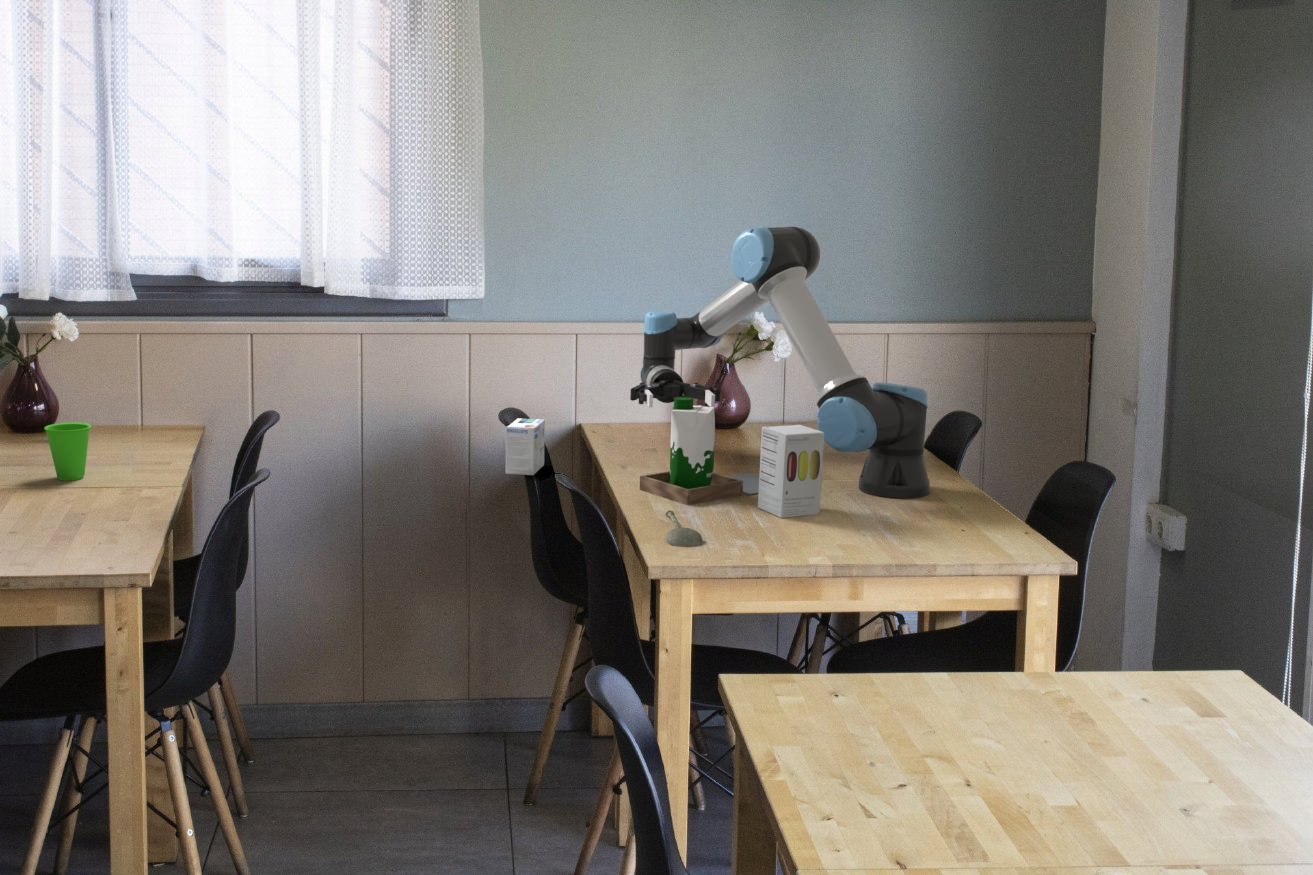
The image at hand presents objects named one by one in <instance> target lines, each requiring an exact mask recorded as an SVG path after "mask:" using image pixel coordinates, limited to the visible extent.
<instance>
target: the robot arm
mask: <svg viewBox="0 0 1313 875" xmlns="http://www.w3.org/2000/svg"><path fill="white" fill-rule="evenodd" d="M820 260H821V248H820V244H819V243H818V240H817V239H816V238H815V236H814V235H813V234H812V233H811V232H810V231H808V230H807V229H805V228H803V227H798V226H780V227H778V226H776V227H766V226H758V227H753V228H752V227H751V228H747V229H745V230H743V231H742V232H741V233H740V234H739V235H738V237H737V238H736V239H735V240H734V243H733V245H732V253H731V254H730V264H731V265H730V266H731V268H732V272H733V273H734V275H735V277H736V278H737V279H738V280H739V281H738V282H737V283H736V284H734V285H733V286H731V287H730V288H729V289H728V290H727V291H725V292H723V293H722V295H720V296H718V297H717V298H716V299H715V300H713V301H712V302H710V303H709V304H708V305H707V306H705V307H703V309H701V310H700V311H699V312H697V313H696V314H694V315H693V316H690V317H682V318H681V317H680V318H679V317H678V318H677V314H676V313H675V312H674V311H669V310H651V311H648V312H647V313H646V314H645V317H644V318H645V319H644V325H643V326H644V327H643V358H642V366H641V368H640V371H639V375H640V376H639V377H640V381H641V382H640V383H639V384H637V385H636V386H634V387H631V388H630V396H629V398H630V399H629V400H630V401H632V402H634V401H636V400H638V405H644V403H645V404H646V405H647V407H649V408H653V407H654V406H653V403H654V399H656V400H657V401H659V402H661V403H664V404H671V403H674V398H675V397H691V398H693V400H694V399H695V400H701V401H704V403H705V404H707V405H708V407H714V408H715V403H716V402H720V401H721V389H720V388H715V387H714V386H707V385H704V384H700V383H699V382H694V383H693V384H692V385H691V384H690V383H688V382H684V381H683V378H682V377H681V376H680V374H679V373H677V372H676V370H675V365H676V364H675V362H676V361H675V359H676V351H679V350H680V351H681V350H690V349H706V348H709V347H713V346H716V345H718V344H719V343H720V342H721V340H722V338H723V334H724V333H726V331H728V330H730V328H733V326H735V325H736V324H738V323H739V322H741V321H742V320H743V319H745V318H746V317H747V316H749V315H750V314H752V313H753V312H754V311H756V310H757V309H759V308H760V307H761V306H763V305H764V304H766V303H767V302H768V301H769V303H770V305H771V308H773V310H774V312H775V314H776V316H777V318H778V320H779V322H780V324H781V325H782V327H783V329H784V331H785V333H786V335H787V337H788V338H789V340H790V342H791V344H792V346H793V348H794V350H795V351H796V353H797V355H798V356H799V359H800V360H801V362H802V365H803V366H804V368H805V370H806V371H807V373H808V375H809V377H810V379H811V381H812V383H813V385H814V386H815V389H816V390H817V392H818V397H817V400H816V406H817V407H818V411H817V416H816V417H817V418H818V420H817V422H816V425H817V426H816V427H817V430H819V431H822V432H824V443H826V444H827V446H829V447H830V448H832V449H833V450H835V451H837V452H840V453H861V452H865V451H867V450H868V455H867V456H866V459H865V461H864V465H863V467H862V470H861V474H860V475H859V478H858V486H857V487H858V489H859V490H860V491H861V492H864V493H866V494H869V495H874V496H878V497H885V498H899V499H900V498H901V499H903V498H905V499H907V498H908V499H909V498H910V499H911V498H912V499H913V498H920V497H921V498H922V497H925V496H926V495H928V494H929V493H930V487H931V482H930V479H929V477H928V471H927V466H926V462H925V457H924V453H925V452H924V451H925V450H924V449H925V439H926V438H925V437H926V424H927V413H928V412H927V411H928V408H929V405H928V395H927V394H928V393H927V391H926V390H925V389H924V388H922V387H919V386H918V387H917V386H913V385H906V384H901V383H900V384H899V383H890V382H880V381H879V382H874V383H873V384H872V385H871V383H870V382H869V381H868V378H867V376H864V375H860V374H856V372H855V370H854V368H853V366H852V365H851V363H850V360H849V359H848V357H847V355H846V353H845V352H844V350H843V348H842V346H841V345H840V342H839V341H838V340H837V338H836V336H835V333H834V332H833V330H832V329H831V326H830V325H829V323H828V321H827V319H826V317H825V316H824V314H823V312H822V311H821V308H820V307H819V304H818V303H817V301H816V300H815V297H814V296H813V294H812V293H811V290H810V289H809V287H808V285H807V283H806V282H805V281H806V280H807V279H808V278H810V277H811V276H812V275H813V274H814V272H815V271H816V270H817V268H818V266H819V263H820Z"/></svg>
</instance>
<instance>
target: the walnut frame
mask: <svg viewBox="0 0 1313 875" xmlns="http://www.w3.org/2000/svg"><path fill="white" fill-rule="evenodd" d="M728 476H729V475H724V474H721V473H717V472H714V471H713V475H712V480H711V485H710V486H704V487H698V488H692V489H686V488H682V487H679V486H676V485H672V484H671V482H670V470H669V471H664V472H663V471H662V472H657V473H649V474H644V475H639V490H640V491H643V492H646V493H648V492H649V494H652V495H655V494H656V495H655V496H658V497H661V496H662V498H665V499H667V498H669V499H668V500H671V501H674V500H675V501H674V502H677V503H680V502H681V504H683V505H692V504H698V503H699V504H700V503H704V502H710V500H711V501H715V500H720V499H721V498H722V499H726V498H732V497H737V496H743V495H744V494H743V481H742V480H739V479H735V478H731V477H728Z"/></svg>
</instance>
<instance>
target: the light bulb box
mask: <svg viewBox="0 0 1313 875" xmlns="http://www.w3.org/2000/svg"><path fill="white" fill-rule="evenodd" d="M545 421H546V420H545V419H544V418H543V419H541V418H519V417H518V418H516V419H514V421H512V422H511V423H510V424H508V425H507V426H506V427H505V474H507V475H508V474H509V475H520V476H523V475H524V476H534V475H535V474H536V473H537V472H538V471H540V469H542V467H544V466H545V427H546V426H545V425H546V424H545V423H546V422H545Z"/></svg>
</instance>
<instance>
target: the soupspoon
mask: <svg viewBox="0 0 1313 875" xmlns="http://www.w3.org/2000/svg"><path fill="white" fill-rule="evenodd" d="M675 515H676V514H675V512H674V511H673V510H667V511H666V512H665V517H666V518H669V517H670V519H671V521H672V522H673V524H674V525H675V527H676V528H673V529H670V530H669V531H667V532H666V534H665V537H666V538H665V539H666V540H667V543H668V544H669V545H671V546H672V547H677V548H678V547H679V548H692V547H693V548H694V547H699V546H701V545H702V543H703V537H702V535H701V533H699V532H698V530H696V529H693V528H690V527H685V526H684V527H683V526H682V525H681V524H680V523H679V521H678V520H677V519H676V517H675Z"/></svg>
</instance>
